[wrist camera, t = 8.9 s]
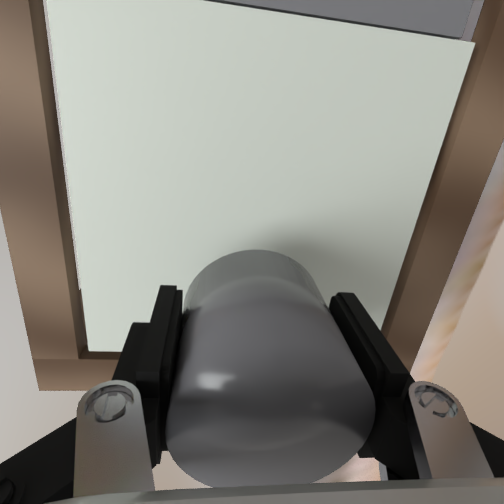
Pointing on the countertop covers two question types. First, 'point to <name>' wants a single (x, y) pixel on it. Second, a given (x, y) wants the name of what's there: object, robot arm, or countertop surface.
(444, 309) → the countertop surface
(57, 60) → the trapdoor
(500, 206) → the countertop surface
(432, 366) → the countertop surface
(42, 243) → the trapdoor frame
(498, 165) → the countertop surface
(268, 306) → the metal canister
